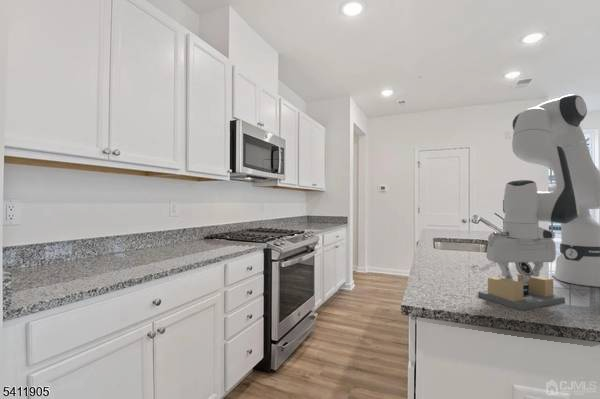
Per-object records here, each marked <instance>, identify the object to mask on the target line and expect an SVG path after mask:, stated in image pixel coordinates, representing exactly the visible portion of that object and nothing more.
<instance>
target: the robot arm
mask: <svg viewBox="0 0 600 399" xmlns="http://www.w3.org/2000/svg"><path fill="white" fill-rule="evenodd" d="M587 111H588V109H587V104H586V102H585V100H584V98H583V97H582V96H581V95H578V94H576V93H575V94H568V95H567V94H566V95H563V96H561V97H560V98H559V97H558V98H555V99H552V100H548V101H545V102H542V103H541V104H538V105H537V106H534V107H531V108H530V107H529V108H527V109H525V110H523V111H522V112H519V113H517V115H516V116H514V118H513V120H512V129H513V135H512V142H511V147H512V148H511V149H512V152H513V154H514V155H515V156H516V157H517V158H518V159H520V160H522V161H524V162H526V163H530V164H534V165H539V166H543V167H546V168H549V169H550V170H551V171H552V172H553V178H554V183H555V184H553V185H552V186H550V187H549V188H548V189H547V191H538V185H537V183H536V182H535V181H534V180H530V179H529V180H527V179H526V180H525V179H520V180H512V181H509V182H507V183H506V184H505V189H504V194H503V200H502V211H503V213H504V218H503V224H502V225H503V231H494V232H492V233H491V234H489V235H488V238H487V242H488V243H487V247H486V254H485V255H486V259H487V260H488V261H489V262H493V263H497V265H498V267H499V269H500V270H501V276H502V277H504V278H505V277H510V274H511V271H510V270H509V271H508V270H507V268H506V266H507V262H509V263H515V262H527V263H533V265H534V266H533V268H532V275H531V276H534V277H539V276H540V271H541V270H542V268H543V266H544V263H553V262H554V261H555V269H554V273H551V277H553V278H555V279H556V280H558V281H561V282H565V283H569V284H573V285H580V286H585V287H598V288H600V223H599V222H598V221H596V220H595V219H594V218H593V216H592V215H591V213H590V210H599V209H600V170H599V168H598V167H597V166H596V164H595V162H594V161H593V158H592V156H591V153H590V149H589V146H588V142H587V140H586V136H585V133H584V132H583V128H582V127H581V126H580V124H581V122H582V121H584V119H585V117H586V115H587V113H588V112H587ZM540 222H547V223H549V222H550V223H555V224H556V223H557V224H560V229H561V232H560V234H561V236H560V237H561V238H560V239H561V240H560V241H561V243H560V244H559V253H560V254H559V255H558V256H557V248H556V247H557V245H556V242H555V240H554V239H555V238H556V234H555V232H554V231H552V230H549V229H546V228H543V227H541V226H539V224H540Z"/></svg>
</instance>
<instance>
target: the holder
mask: <svg viewBox="0 0 600 399" xmlns="http://www.w3.org/2000/svg"><path fill="white" fill-rule="evenodd" d="M513 280H514V279H513ZM513 280H509V279H506V278H505V277H504V278H503V277H499V276H491V277H487V290H479V291H478V292H477V293H478V294H477V297H479V298H482V299H484V300H489V301H491V302H495V303H497V304H501V305H503V306H507V307H510V308H513V309H516V310H519V311H524V310H530V309H531V310H532V309H536V308H541V307H542V308H543V307H546V306H547V307H548V306H553V305H558V304H563V303H565V302H566V298H565V296H561V295H558V294H557V295H556V294H554V279H553V278H549V277H546V276H541V275H539V277H534V276H531V278H530V280H529V281H528V282H527V283H525V284H528V285H529V292H528V295H523V283H521V282H522V281H523V278H522V276H521V274H520V273H518V274H517V280H514V281H513Z"/></svg>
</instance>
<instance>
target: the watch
mask: <svg viewBox="0 0 600 399" xmlns="http://www.w3.org/2000/svg"><path fill="white" fill-rule="evenodd" d="M509 263H510V262H507V266H506V268H507V270H508V271H510V268H509V266H508V264H509ZM514 263H515V269H516V270H517V273H518V274H521V276H522V278H523V281H522V282H521V283H523V295H528V292H529V285H528V284H525V283H527V282H528V281H529V280H530V278H531V275H532V270H533V268H532V265H531V264H529V262H514ZM504 278H505V279H509V280H513V281H515V279H513V276H512V274H511V273H510V277H504Z"/></svg>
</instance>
